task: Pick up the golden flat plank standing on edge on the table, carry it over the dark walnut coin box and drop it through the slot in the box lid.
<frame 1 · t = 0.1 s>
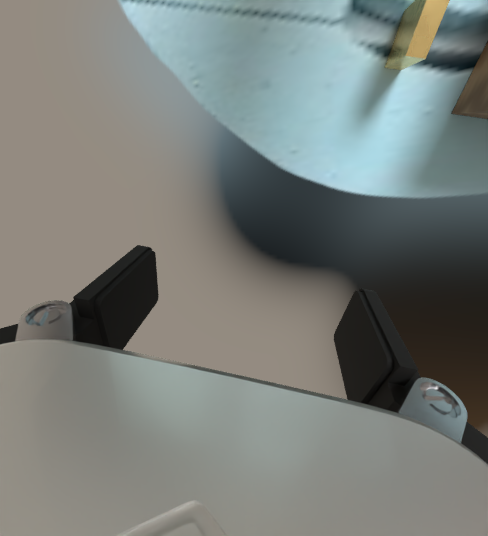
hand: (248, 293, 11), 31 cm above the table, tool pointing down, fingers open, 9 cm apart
golden flat plank: (402, 41, 28), on the table
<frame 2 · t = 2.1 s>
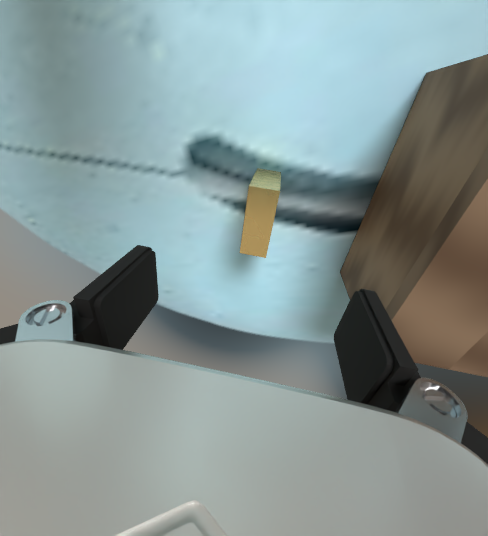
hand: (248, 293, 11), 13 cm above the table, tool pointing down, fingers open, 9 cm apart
golden flat plank: (264, 199, 21), on the table
coin box: (458, 209, 20), on the table
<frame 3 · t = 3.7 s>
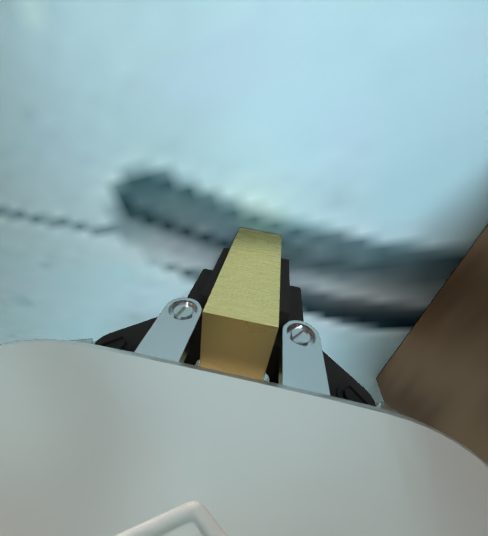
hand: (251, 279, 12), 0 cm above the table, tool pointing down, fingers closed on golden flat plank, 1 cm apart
golden flat plank: (252, 274, 12), on the table, touching gripper
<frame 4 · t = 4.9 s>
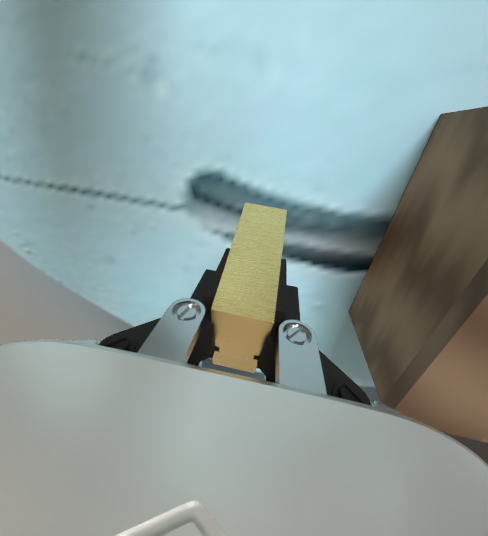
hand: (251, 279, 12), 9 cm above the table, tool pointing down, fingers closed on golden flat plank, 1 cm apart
golden flat plank: (258, 244, 13), point 7 cm above the table, tilted 20°, touching gripper
coin box: (477, 250, 18), on the table
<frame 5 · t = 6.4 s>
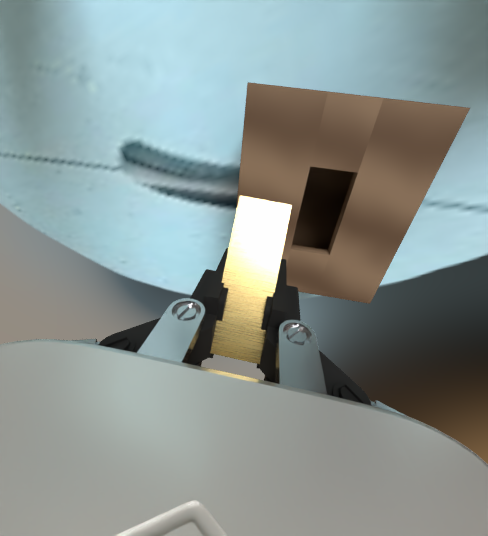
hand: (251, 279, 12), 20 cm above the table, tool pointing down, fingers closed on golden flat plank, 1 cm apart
golden flat plank: (263, 217, 11), point 18 cm above the table, tilted 55°, touching gripper
coin box: (309, 186, 28), on the table
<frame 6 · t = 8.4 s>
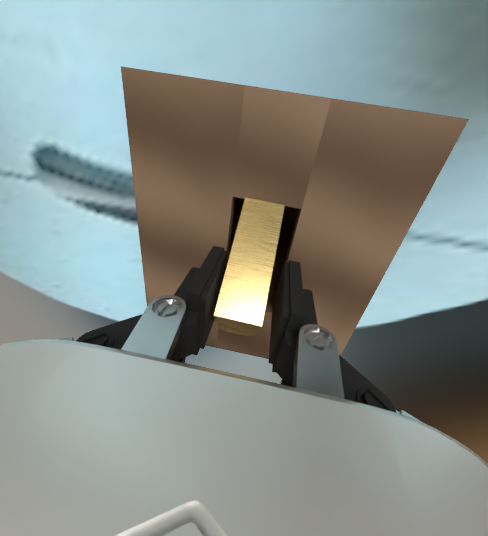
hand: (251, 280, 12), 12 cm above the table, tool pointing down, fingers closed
golden flat plank: (259, 227, 14), point 9 cm above the table, tilted 37°, touching coin box
coin box: (266, 210, 22), on the table
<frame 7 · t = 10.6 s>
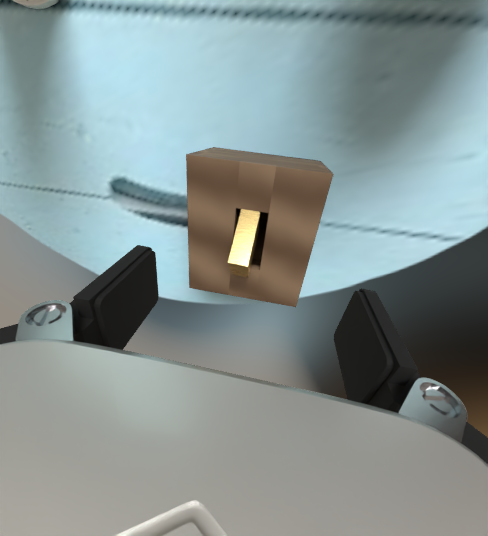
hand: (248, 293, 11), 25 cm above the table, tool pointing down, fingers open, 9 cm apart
golden flat plank: (250, 221, 27), point 8 cm above the table, tilted 44°, touching coin box
coin box: (258, 213, 35), on the table
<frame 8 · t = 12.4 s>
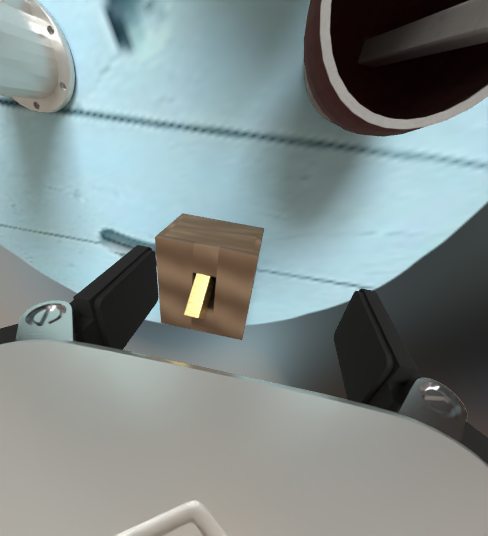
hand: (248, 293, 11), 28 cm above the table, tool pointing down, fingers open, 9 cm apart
golden flat plank: (206, 278, 36), point 8 cm above the table, tilted 44°, touching coin box
coin box: (219, 261, 44), on the table
mate gourd: (365, 64, 27), on the table
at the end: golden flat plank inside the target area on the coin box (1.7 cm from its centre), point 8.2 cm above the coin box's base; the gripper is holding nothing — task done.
